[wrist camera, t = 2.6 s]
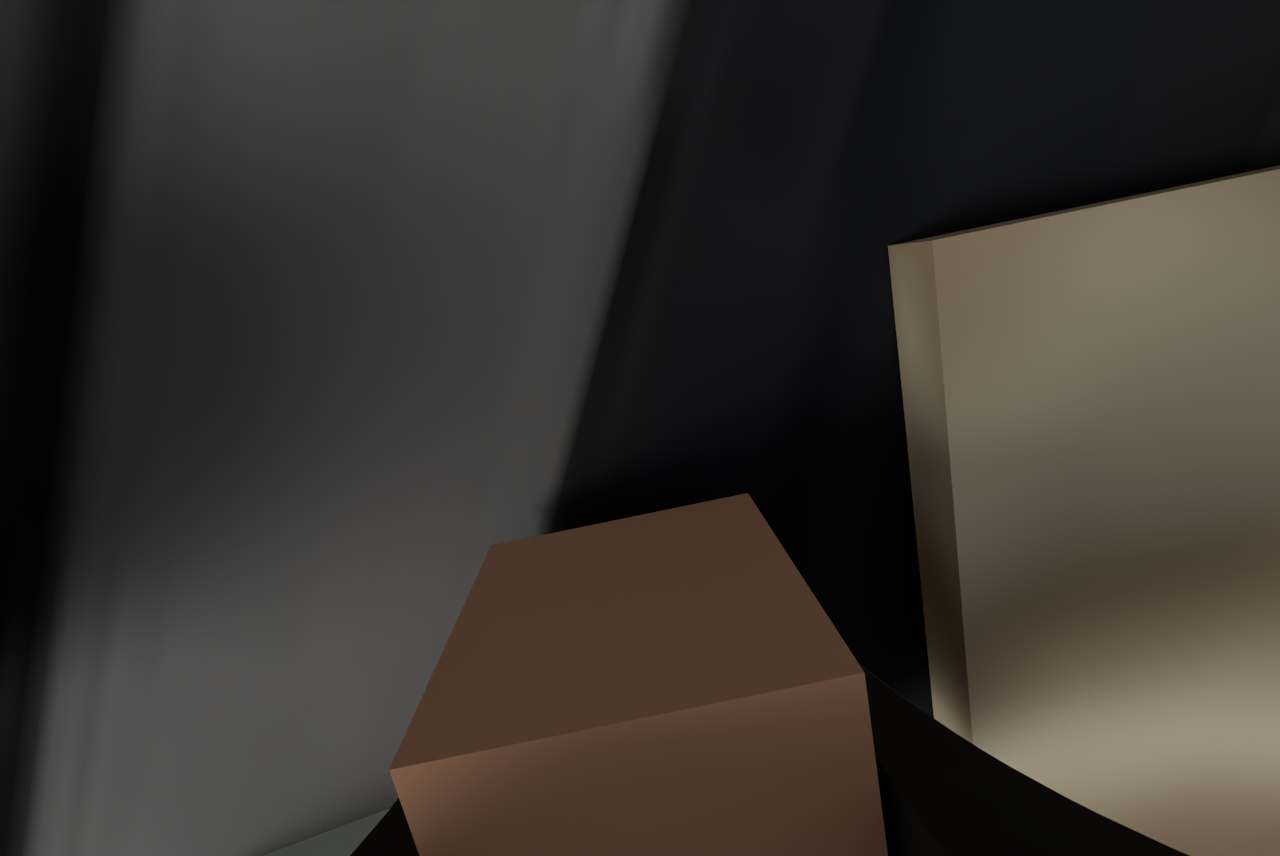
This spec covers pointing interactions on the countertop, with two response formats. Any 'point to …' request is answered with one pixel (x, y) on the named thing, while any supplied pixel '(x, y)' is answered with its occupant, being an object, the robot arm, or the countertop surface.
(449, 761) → the terracotta block
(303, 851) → the sage block
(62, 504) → the countertop surface
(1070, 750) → the birch board
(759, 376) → the countertop surface
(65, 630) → the countertop surface
